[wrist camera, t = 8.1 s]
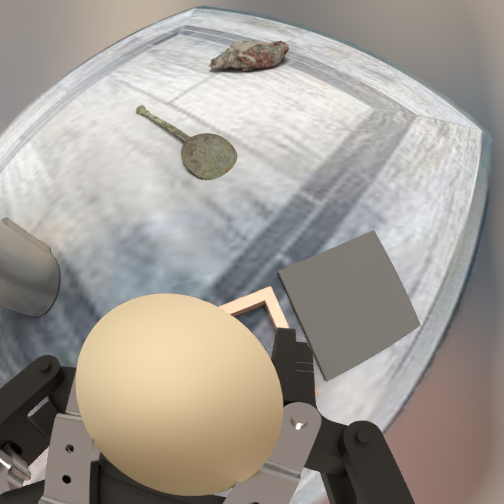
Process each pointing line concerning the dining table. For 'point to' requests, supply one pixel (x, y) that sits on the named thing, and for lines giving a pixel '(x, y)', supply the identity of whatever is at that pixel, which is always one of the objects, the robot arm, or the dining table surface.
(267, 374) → the maple post
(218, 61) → the mineral rock
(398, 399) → the dining table surface
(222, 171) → the soupspoon
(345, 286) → the charcoal mat
